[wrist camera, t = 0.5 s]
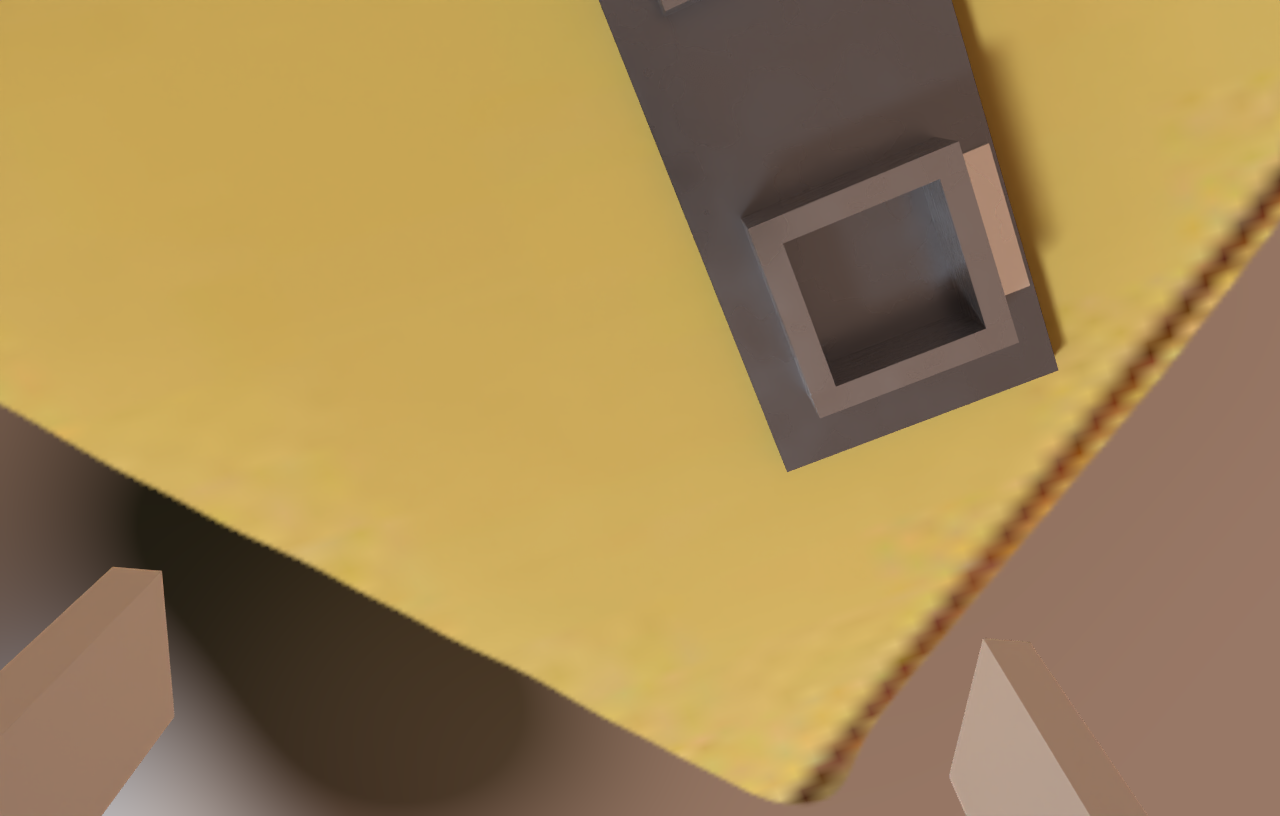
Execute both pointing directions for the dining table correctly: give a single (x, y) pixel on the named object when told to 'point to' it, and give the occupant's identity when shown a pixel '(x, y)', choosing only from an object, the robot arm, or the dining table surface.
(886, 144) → the panel
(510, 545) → the dining table surface
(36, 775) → the robot arm
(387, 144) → the dining table surface
